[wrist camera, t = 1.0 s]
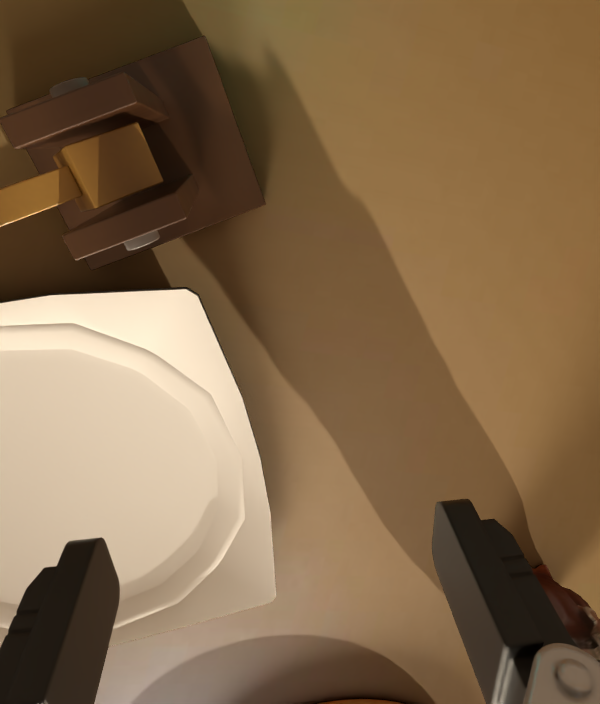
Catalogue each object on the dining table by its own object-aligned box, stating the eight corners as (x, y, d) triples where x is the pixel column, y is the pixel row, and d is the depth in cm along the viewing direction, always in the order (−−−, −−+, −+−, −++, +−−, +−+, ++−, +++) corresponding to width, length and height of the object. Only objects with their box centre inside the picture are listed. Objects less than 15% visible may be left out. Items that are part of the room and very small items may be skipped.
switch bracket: (95, 265, 31) (19, 340, 19) (14, 112, 27) (-140, 88, 16) (264, 202, 31) (290, 238, 19) (205, 39, 27) (193, -38, 16)
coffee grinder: (437, 550, 44) (566, 794, 28) (586, 551, 47) (784, 774, 30) (405, 654, 49) (500, 916, 32) (543, 649, 51) (694, 889, 35)
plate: (292, 582, 43) (296, 608, 41) (-52, 666, 41) (-69, 699, 39) (212, 252, 32) (212, 261, 29) (-267, 348, 30) (-311, 366, 27)
